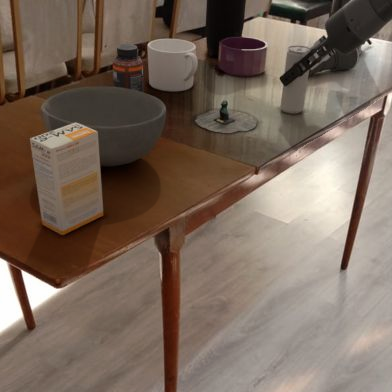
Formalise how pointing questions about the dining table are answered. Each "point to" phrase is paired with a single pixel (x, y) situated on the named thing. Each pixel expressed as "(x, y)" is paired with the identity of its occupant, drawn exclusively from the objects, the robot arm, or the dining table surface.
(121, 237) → the dining table surface
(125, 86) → the supplement bottle
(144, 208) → the dining table surface
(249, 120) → the sculpture
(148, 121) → the bowl
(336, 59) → the flashlight
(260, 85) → the dining table surface
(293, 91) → the beverage can
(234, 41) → the plum bowl
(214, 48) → the portable speaker
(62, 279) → the dining table surface
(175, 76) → the mug
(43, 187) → the supplement box
